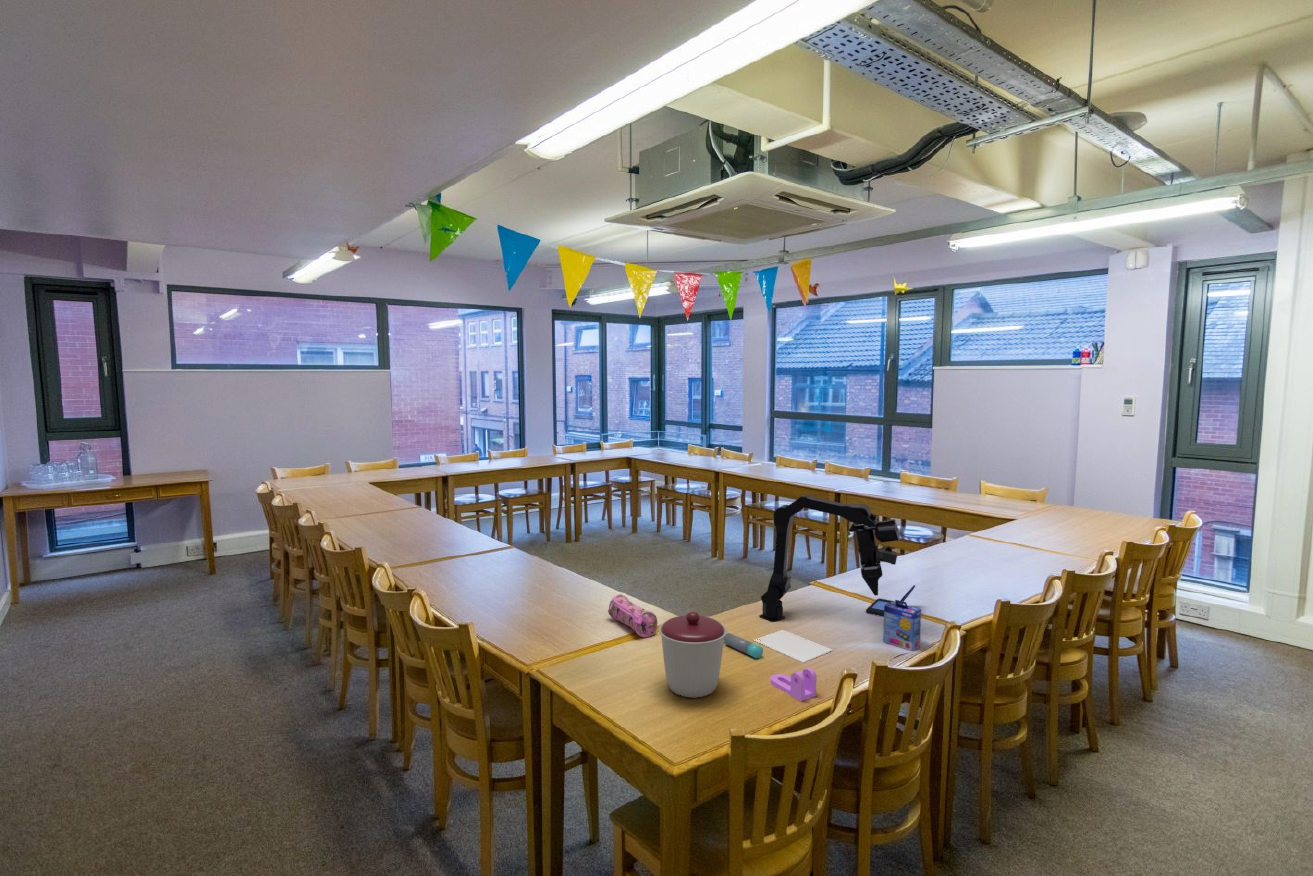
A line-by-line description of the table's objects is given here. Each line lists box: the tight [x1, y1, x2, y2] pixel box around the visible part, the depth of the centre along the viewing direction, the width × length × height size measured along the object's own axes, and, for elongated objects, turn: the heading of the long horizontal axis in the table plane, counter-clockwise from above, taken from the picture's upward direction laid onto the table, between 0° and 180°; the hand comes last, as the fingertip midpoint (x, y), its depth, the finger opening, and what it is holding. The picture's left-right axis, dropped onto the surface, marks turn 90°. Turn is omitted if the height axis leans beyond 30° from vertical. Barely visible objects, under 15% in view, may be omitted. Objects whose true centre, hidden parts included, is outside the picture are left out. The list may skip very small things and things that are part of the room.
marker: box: [723, 632, 764, 660], centre depth 194 cm, size 15×4×4 cm, turn 38°
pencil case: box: [607, 594, 658, 638], centre depth 211 cm, size 21×9×9 cm, turn 32°
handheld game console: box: [865, 584, 916, 618], centre depth 228 cm, size 16×13×9 cm
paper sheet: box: [753, 629, 834, 664], centre depth 198 cm, size 20×14×1 cm
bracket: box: [770, 667, 818, 702], centre depth 170 cm, size 13×6×7 cm, turn 32°
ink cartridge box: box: [882, 599, 922, 652], centre depth 199 cm, size 10×6×14 cm, turn 44°
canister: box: [658, 611, 728, 698], centre depth 169 cm, size 18×18×21 cm
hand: (875, 591), depth 205 cm, fingers open, 9 cm apart
